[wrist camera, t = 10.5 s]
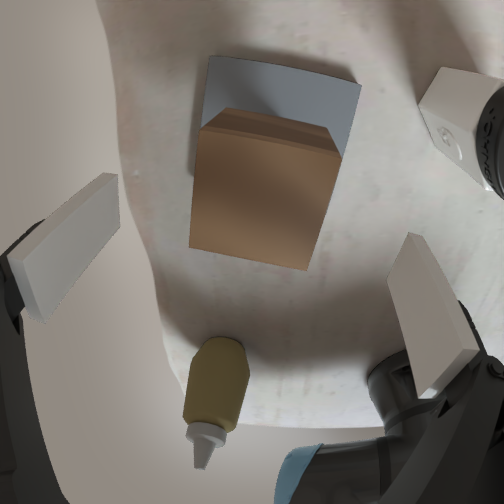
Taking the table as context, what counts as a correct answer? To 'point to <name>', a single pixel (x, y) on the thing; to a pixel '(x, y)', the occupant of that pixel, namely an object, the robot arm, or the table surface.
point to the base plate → (281, 95)
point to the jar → (468, 123)
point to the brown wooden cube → (262, 187)
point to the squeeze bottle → (214, 395)
